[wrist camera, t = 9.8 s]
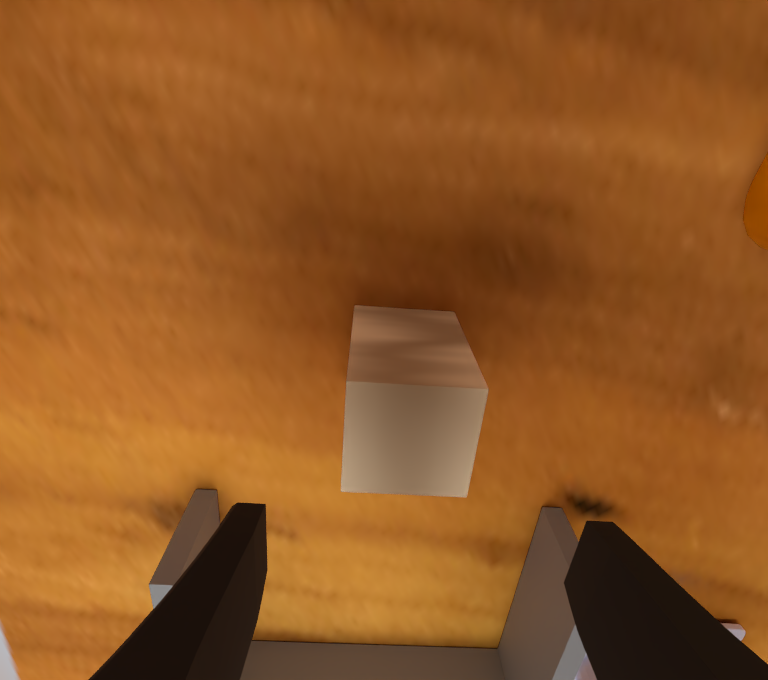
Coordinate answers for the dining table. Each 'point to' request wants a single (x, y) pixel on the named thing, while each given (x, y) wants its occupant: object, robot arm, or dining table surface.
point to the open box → (417, 663)
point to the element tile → (758, 207)
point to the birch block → (410, 404)
